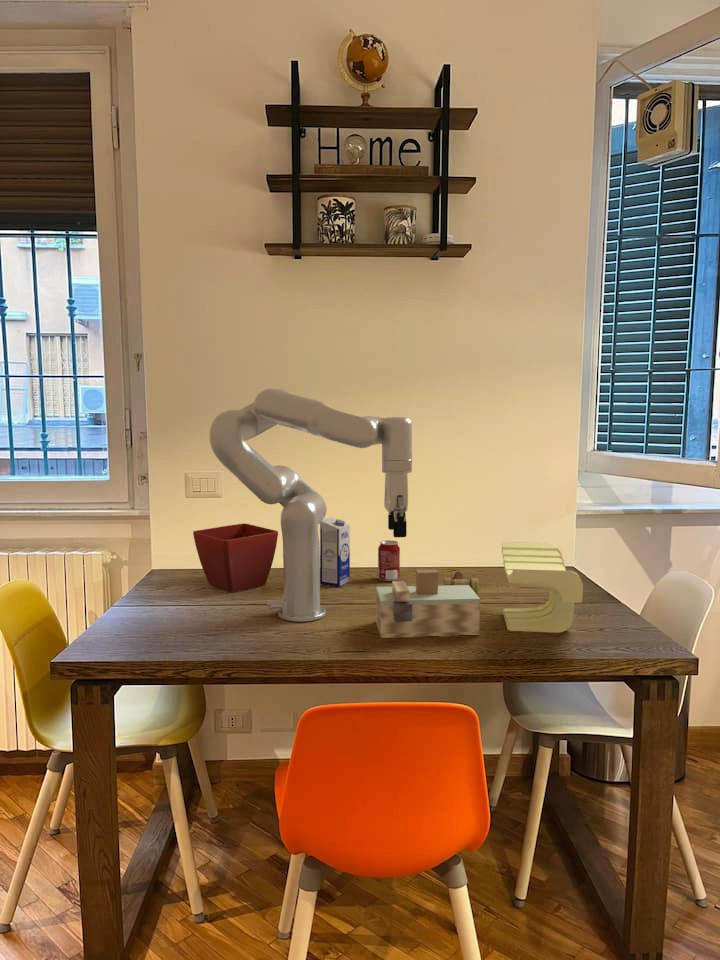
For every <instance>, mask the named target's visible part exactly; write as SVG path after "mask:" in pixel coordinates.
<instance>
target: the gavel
mask: <svg viewBox="0 0 720 960" xmlns="http://www.w3.org/2000/svg"><path fill="white" fill-rule="evenodd" d="M450 585H469V586H470V587H471V588H472V590H473V591H474V592H475V593H476V594H477V595H478V593H479V579H478V577H477V578H475V577H474V578H470V579H468V578H467V579H466V578H464V575H463V573H462V572H461V571H456V572H455V573H454V578H453V579H451V577H444V578H443V586H450Z"/></svg>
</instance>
